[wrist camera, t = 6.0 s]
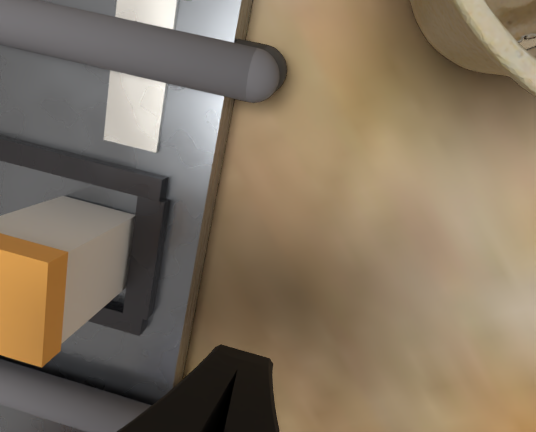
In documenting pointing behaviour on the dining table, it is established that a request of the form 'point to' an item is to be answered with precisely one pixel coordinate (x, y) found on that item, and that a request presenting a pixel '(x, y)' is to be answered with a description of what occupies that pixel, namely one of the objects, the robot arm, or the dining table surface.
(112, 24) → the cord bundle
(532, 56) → the flower pot
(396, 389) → the dining table surface
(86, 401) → the dark grey bar
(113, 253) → the breaker lever
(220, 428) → the robot arm
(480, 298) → the dining table surface
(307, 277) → the dining table surface
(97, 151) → the breaker panel
